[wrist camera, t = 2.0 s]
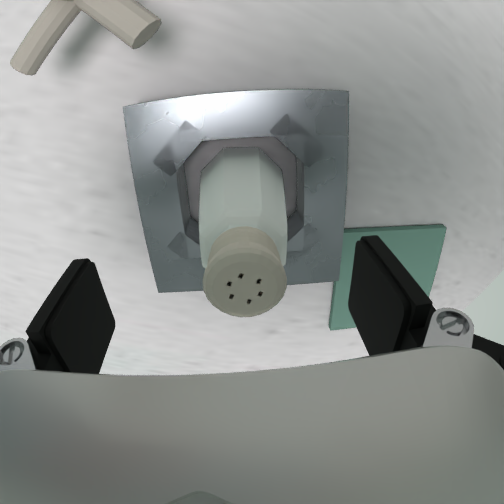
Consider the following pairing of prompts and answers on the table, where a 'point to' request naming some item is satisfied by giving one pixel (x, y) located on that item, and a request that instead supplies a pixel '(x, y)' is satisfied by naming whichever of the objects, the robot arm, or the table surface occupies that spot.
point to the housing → (240, 126)
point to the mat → (403, 247)
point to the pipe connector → (64, 12)
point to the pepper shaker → (243, 232)
